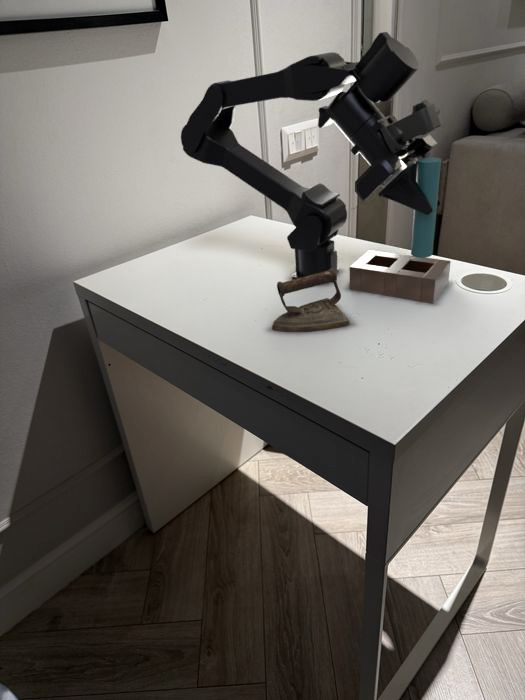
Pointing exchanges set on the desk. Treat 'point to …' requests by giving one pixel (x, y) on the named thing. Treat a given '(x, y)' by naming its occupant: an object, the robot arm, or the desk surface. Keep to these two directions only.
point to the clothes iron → (310, 306)
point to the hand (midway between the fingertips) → (434, 209)
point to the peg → (426, 223)
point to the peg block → (400, 275)
